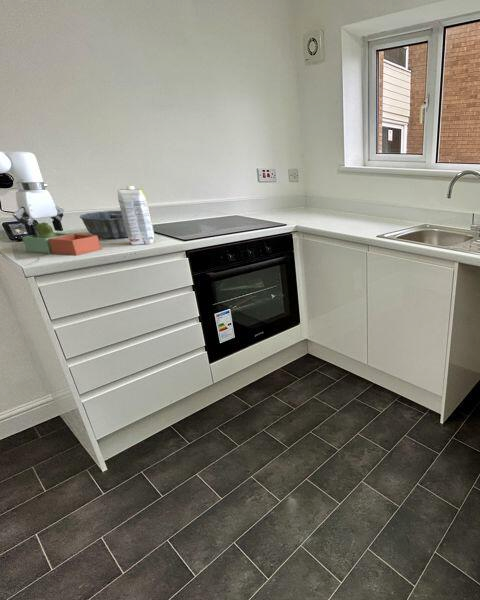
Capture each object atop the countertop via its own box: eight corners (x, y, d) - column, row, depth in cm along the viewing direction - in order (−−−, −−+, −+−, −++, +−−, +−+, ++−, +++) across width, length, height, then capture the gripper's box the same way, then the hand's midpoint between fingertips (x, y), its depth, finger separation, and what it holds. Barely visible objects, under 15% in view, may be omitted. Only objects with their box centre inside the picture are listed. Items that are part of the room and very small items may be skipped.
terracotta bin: (76, 255, 133) (72, 240, 131) (53, 253, 134) (48, 238, 132) (101, 249, 142) (97, 235, 140) (79, 247, 144) (74, 234, 142)
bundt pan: (161, 236, 169) (156, 215, 165) (90, 243, 151) (84, 220, 147) (146, 228, 185) (142, 209, 182) (81, 233, 167) (75, 212, 164)
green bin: (50, 253, 134) (45, 238, 132) (26, 251, 135) (21, 237, 133) (76, 247, 144) (72, 233, 142) (54, 245, 145) (49, 232, 143)
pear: (62, 246, 142) (54, 221, 139) (56, 249, 138) (48, 223, 134) (45, 246, 140) (36, 221, 137) (38, 249, 136) (29, 224, 132)
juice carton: (156, 240, 160) (144, 185, 151) (155, 244, 154) (142, 187, 145) (131, 242, 156) (117, 185, 147) (128, 245, 149) (113, 187, 140)
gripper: (47, 185, 139) (60, 228, 145) (-6, 188, 123) (12, 236, 129) (63, 186, 138) (76, 229, 145) (13, 189, 122) (30, 237, 129)
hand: (46, 232), depth 137 cm, fingers open, 9 cm apart
